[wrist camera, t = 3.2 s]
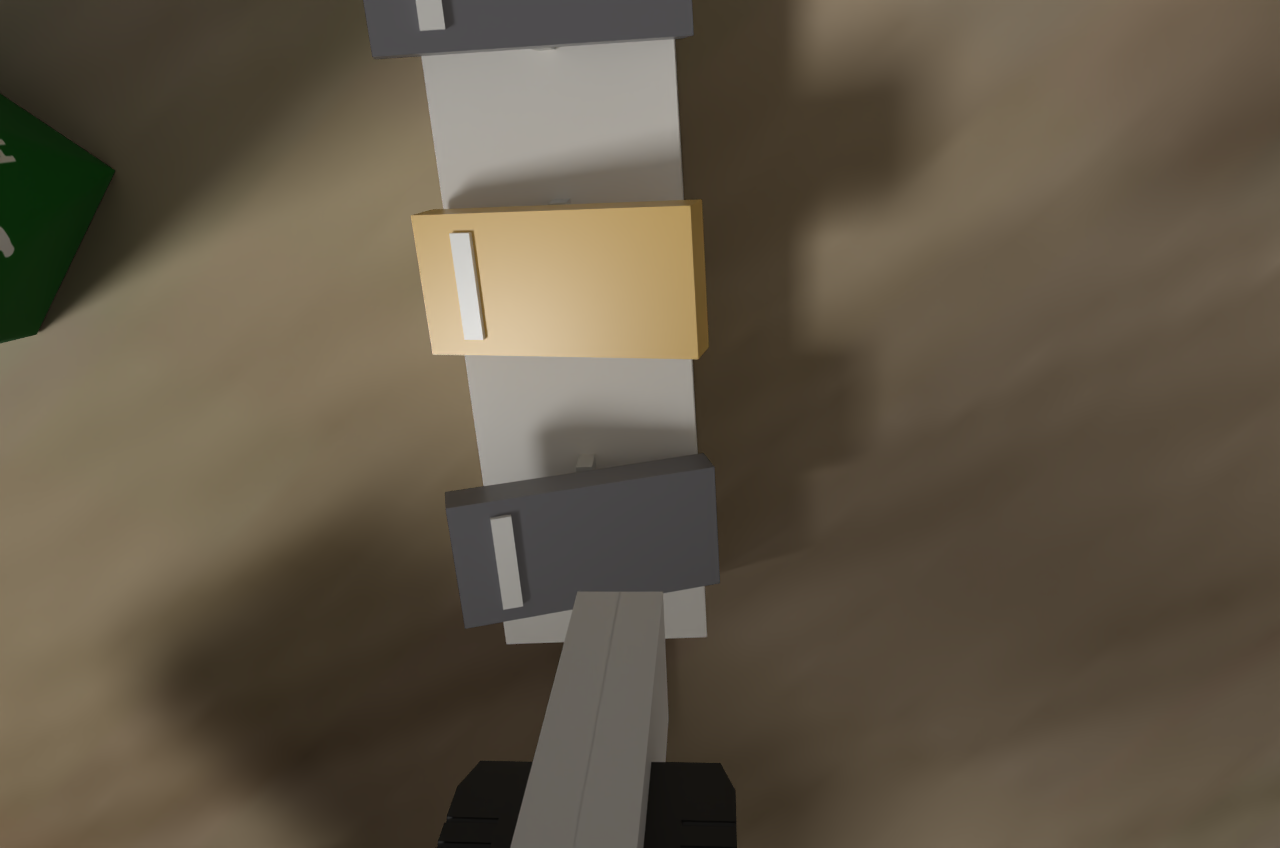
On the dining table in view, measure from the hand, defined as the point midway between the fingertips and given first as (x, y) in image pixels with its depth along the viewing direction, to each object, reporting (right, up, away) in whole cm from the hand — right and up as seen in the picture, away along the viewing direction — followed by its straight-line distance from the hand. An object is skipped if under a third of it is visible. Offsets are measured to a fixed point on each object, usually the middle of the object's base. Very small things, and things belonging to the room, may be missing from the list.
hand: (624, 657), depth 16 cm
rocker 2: (-2, +8, +9) cm, 12 cm away
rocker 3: (-1, +1, +12) cm, 12 cm away
